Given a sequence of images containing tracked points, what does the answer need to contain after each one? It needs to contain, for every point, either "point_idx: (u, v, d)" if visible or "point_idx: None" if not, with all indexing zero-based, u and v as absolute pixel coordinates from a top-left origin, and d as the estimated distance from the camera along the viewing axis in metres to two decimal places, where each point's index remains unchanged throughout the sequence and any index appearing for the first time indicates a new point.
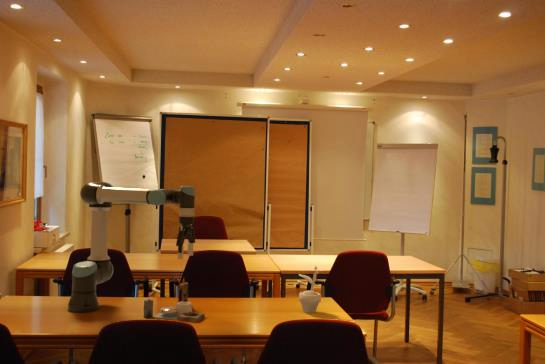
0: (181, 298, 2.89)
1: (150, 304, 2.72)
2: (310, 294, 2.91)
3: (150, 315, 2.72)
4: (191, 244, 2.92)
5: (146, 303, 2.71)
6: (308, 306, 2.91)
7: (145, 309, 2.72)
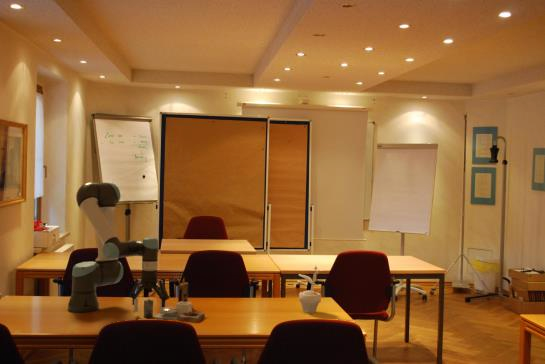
0: (181, 298, 2.89)
1: (150, 304, 2.72)
2: (310, 294, 2.91)
3: (150, 315, 2.72)
4: None
5: (146, 303, 2.71)
6: (308, 306, 2.91)
7: (145, 309, 2.72)
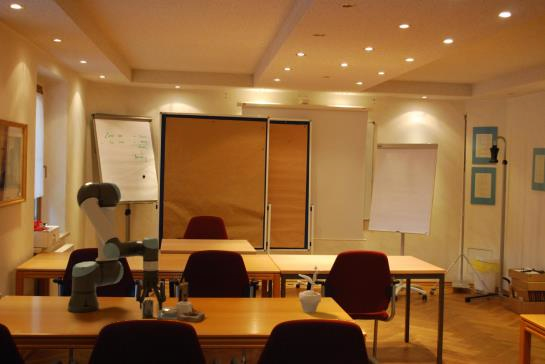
0: (181, 298, 2.89)
1: (150, 304, 2.72)
2: (310, 294, 2.91)
3: (150, 315, 2.72)
4: None
5: (146, 303, 2.71)
6: (308, 306, 2.91)
7: (145, 309, 2.72)
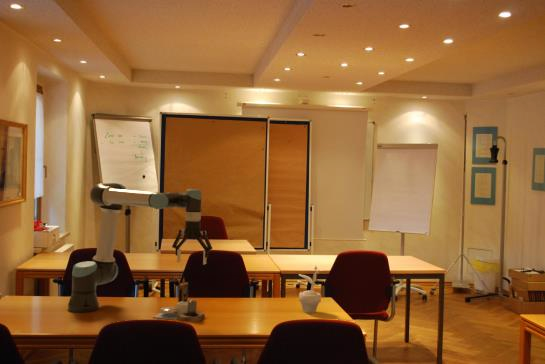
0: (181, 298, 2.89)
1: (194, 305, 2.71)
2: (310, 294, 2.91)
3: (194, 316, 2.72)
4: None
5: (190, 304, 2.71)
6: (308, 306, 2.91)
7: (189, 310, 2.71)
